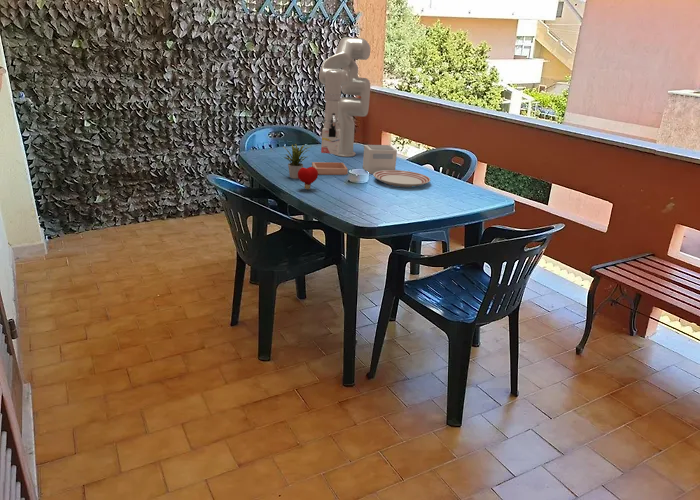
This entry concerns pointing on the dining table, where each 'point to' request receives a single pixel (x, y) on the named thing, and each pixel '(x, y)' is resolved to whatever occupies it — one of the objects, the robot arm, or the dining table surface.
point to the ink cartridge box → (330, 139)
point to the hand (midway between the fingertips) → (330, 135)
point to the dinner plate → (401, 178)
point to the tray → (330, 168)
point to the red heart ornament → (308, 176)
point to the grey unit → (379, 158)
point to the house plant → (295, 161)
